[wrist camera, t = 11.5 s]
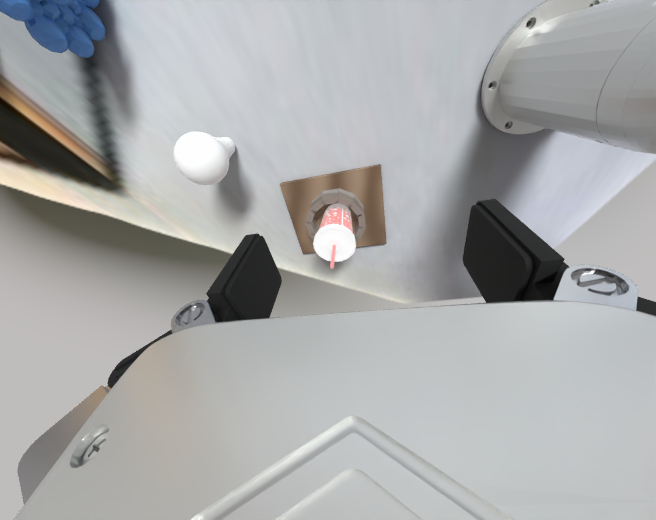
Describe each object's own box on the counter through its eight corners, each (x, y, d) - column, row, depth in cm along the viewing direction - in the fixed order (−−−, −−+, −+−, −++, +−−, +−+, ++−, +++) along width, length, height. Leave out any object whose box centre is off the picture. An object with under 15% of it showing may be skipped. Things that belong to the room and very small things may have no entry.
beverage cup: (314, 223, 42) (301, 275, 31) (328, 192, 38) (318, 240, 27) (346, 235, 43) (343, 291, 32) (361, 207, 39) (365, 259, 28)
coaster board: (380, 164, 36) (382, 172, 32) (385, 241, 44) (388, 253, 41) (281, 182, 39) (274, 192, 35) (303, 251, 47) (300, 263, 44)
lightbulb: (252, 165, 37) (222, 192, 29) (215, 165, 38) (175, 191, 29) (244, 121, 34) (206, 137, 25) (202, 121, 34) (151, 137, 25)
